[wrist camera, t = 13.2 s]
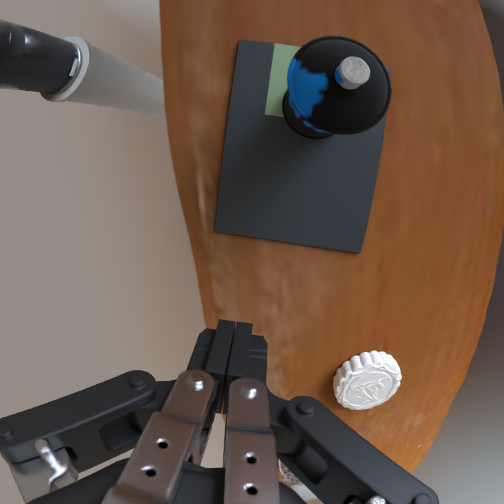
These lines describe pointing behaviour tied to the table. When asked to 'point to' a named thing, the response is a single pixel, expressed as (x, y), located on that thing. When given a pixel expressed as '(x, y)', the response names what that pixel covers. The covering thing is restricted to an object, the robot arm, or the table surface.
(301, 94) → the aerosol can
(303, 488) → the french press
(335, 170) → the board
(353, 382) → the mooncake
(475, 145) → the table surface
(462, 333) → the table surface
